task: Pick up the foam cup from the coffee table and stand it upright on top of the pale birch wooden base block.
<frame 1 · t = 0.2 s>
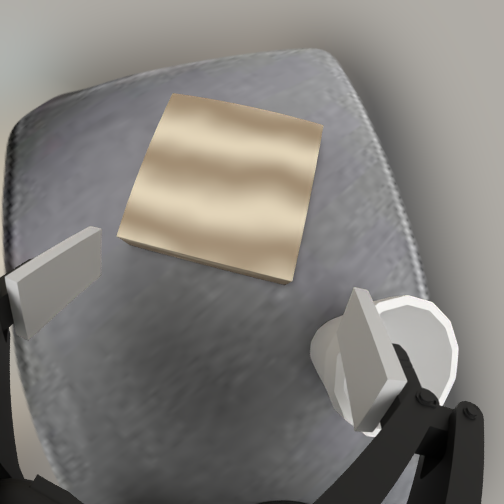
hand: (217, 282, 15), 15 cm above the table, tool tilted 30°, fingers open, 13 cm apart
wooden base: (225, 189, 32), on the table
foam cup: (339, 348, 30), on the table
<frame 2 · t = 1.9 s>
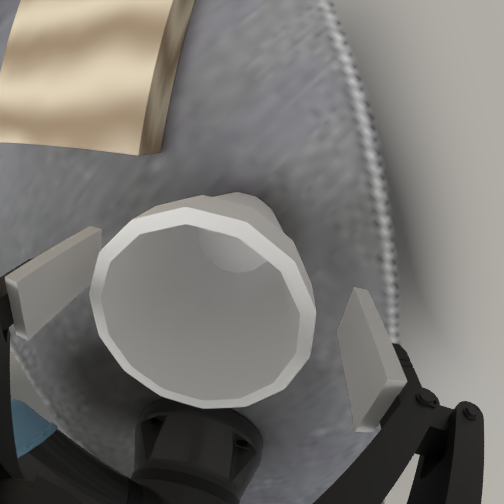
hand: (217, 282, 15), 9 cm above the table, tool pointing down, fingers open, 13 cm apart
wooden base: (94, 52, 20), on the table
foam cup: (238, 232, 24), on the table
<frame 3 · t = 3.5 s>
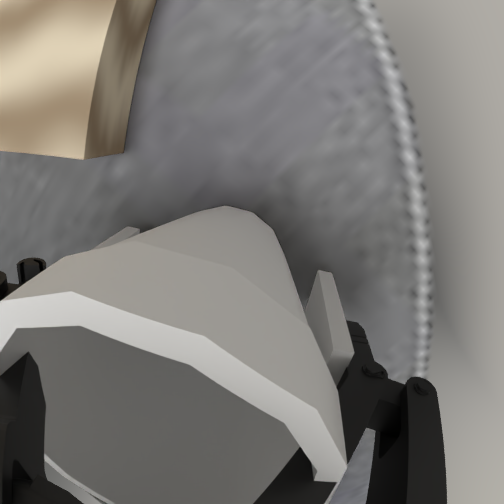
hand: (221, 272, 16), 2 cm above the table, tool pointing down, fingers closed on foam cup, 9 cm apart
wooden base: (49, 31, 14), on the table
foam cup: (227, 259, 18), on the table, touching gripper
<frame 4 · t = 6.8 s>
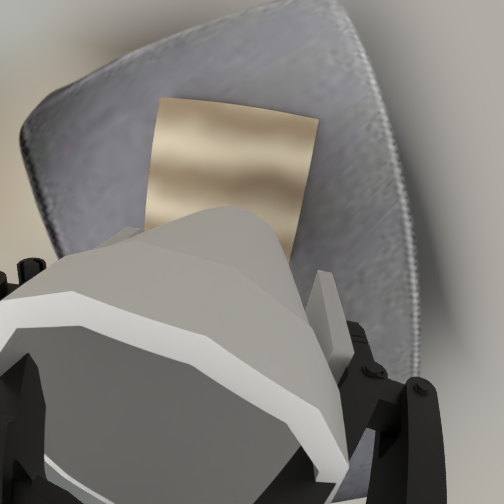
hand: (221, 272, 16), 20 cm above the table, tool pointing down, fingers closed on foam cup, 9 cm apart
wooden base: (229, 179, 35), on the table
foam cup: (228, 259, 18), point 18 cm above the table, touching gripper
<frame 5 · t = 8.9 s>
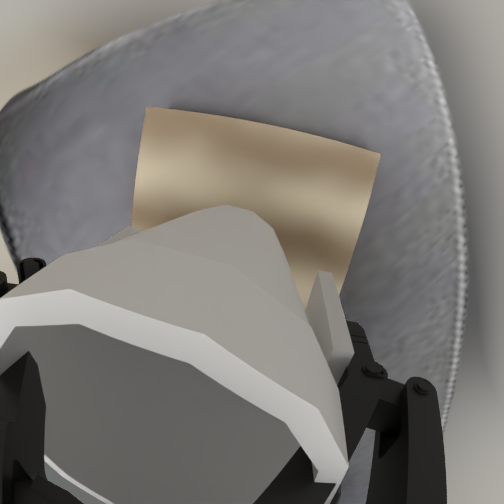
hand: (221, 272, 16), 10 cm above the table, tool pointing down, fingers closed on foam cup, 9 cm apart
wooden base: (244, 224, 26), on the table
foam cup: (227, 259, 18), point 8 cm above the table, touching gripper
when the fingers open (7 cm above the table, at t = 10.4 s): foam cup drops 1 cm, resting on wooden base.
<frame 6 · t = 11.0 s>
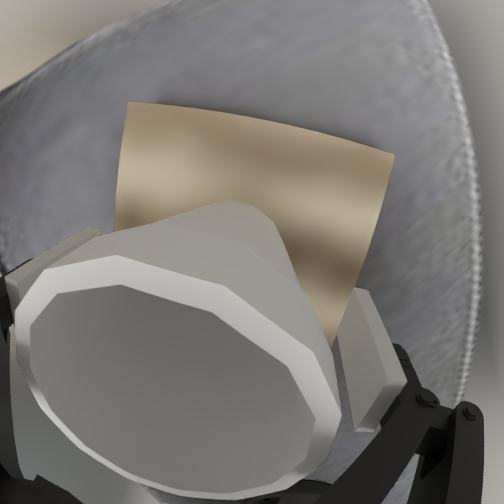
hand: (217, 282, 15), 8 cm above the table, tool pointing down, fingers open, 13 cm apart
wooden base: (240, 232, 23), on the table
foam cup: (232, 251, 19), point 4 cm above the table, touching wooden base
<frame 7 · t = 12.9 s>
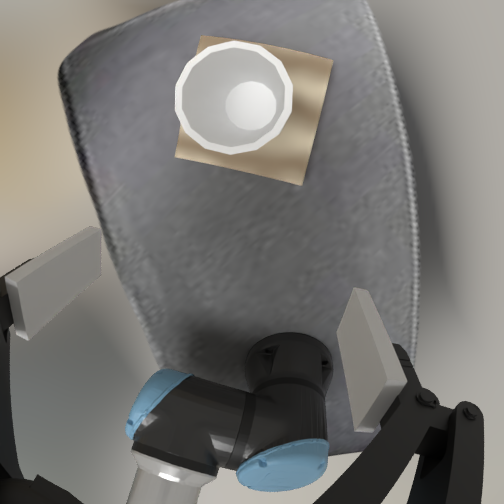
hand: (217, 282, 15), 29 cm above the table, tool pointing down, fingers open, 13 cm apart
wooden base: (254, 107, 38), on the table
foam cup: (251, 106, 35), point 4 cm above the table, touching wooden base
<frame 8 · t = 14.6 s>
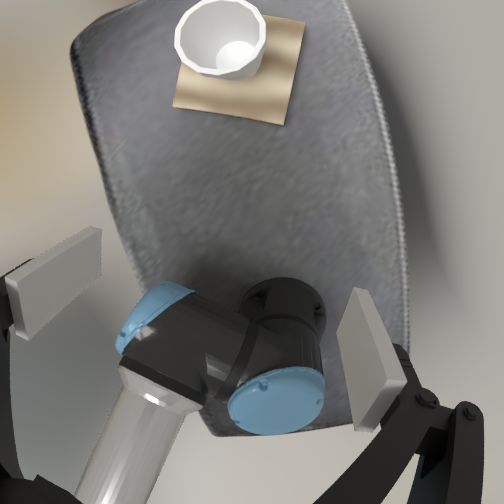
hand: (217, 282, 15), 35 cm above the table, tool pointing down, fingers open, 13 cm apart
wooden base: (241, 66, 42), on the table
foam cup: (237, 61, 38), point 4 cm above the table, touching wooden base
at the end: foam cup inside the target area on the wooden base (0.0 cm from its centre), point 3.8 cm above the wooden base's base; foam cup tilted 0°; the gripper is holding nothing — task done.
